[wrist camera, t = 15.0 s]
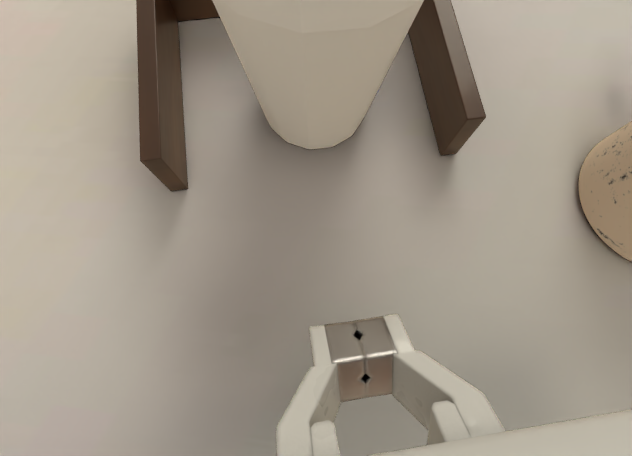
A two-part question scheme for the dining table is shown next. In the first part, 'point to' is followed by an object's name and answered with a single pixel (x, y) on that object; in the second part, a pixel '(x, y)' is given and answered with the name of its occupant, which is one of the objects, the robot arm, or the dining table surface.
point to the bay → (196, 3)
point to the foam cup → (316, 60)
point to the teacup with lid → (610, 190)
